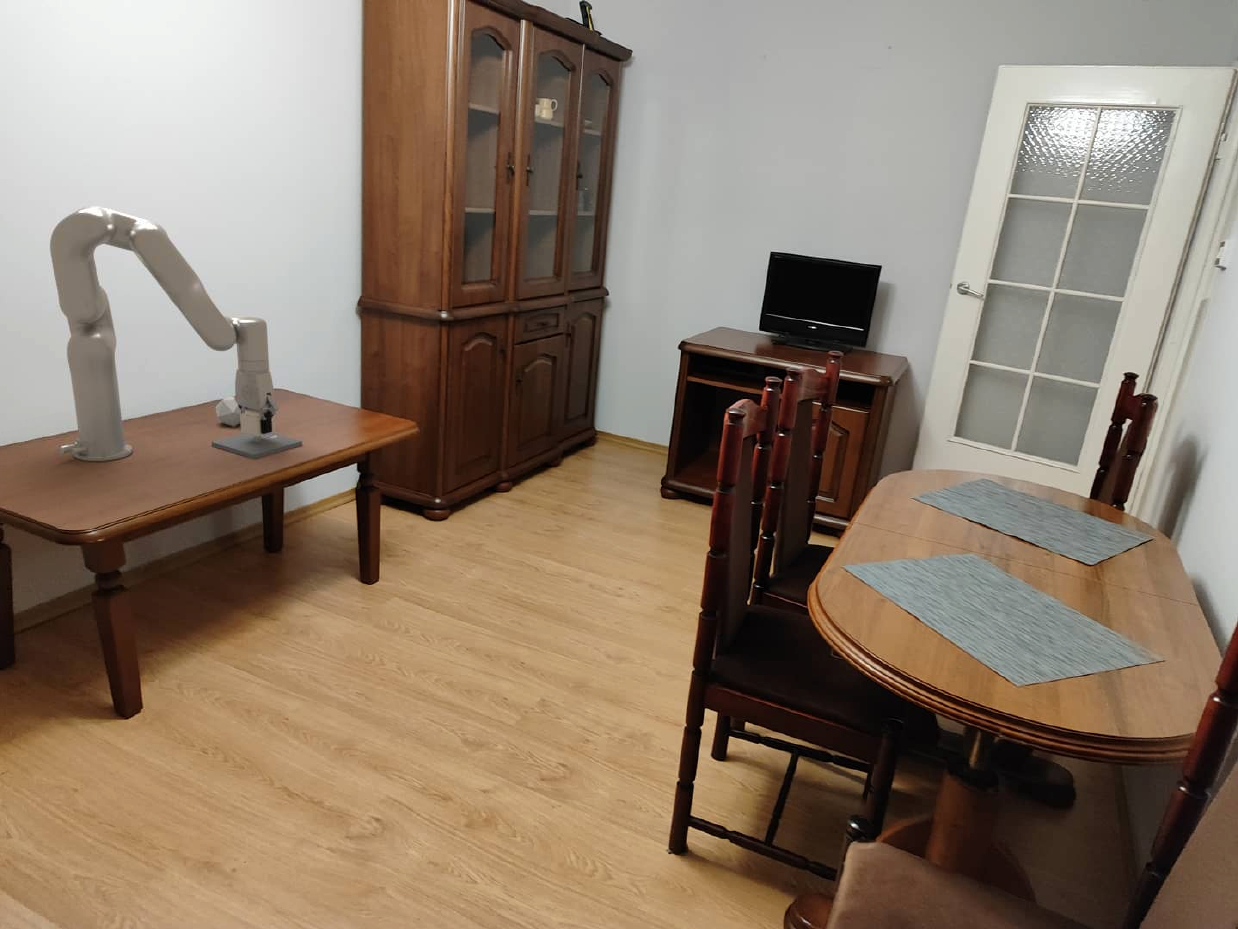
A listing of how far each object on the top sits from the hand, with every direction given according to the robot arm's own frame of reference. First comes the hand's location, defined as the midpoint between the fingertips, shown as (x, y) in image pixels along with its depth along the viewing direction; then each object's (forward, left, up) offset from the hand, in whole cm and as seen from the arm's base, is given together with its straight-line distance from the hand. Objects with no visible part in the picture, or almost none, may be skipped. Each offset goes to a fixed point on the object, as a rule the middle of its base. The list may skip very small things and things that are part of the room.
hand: (257, 429), depth 221 cm
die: (+9, +21, -5) cm, 23 cm away
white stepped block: (0, 0, -1) cm, 1 cm away
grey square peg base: (0, 0, -4) cm, 4 cm away
